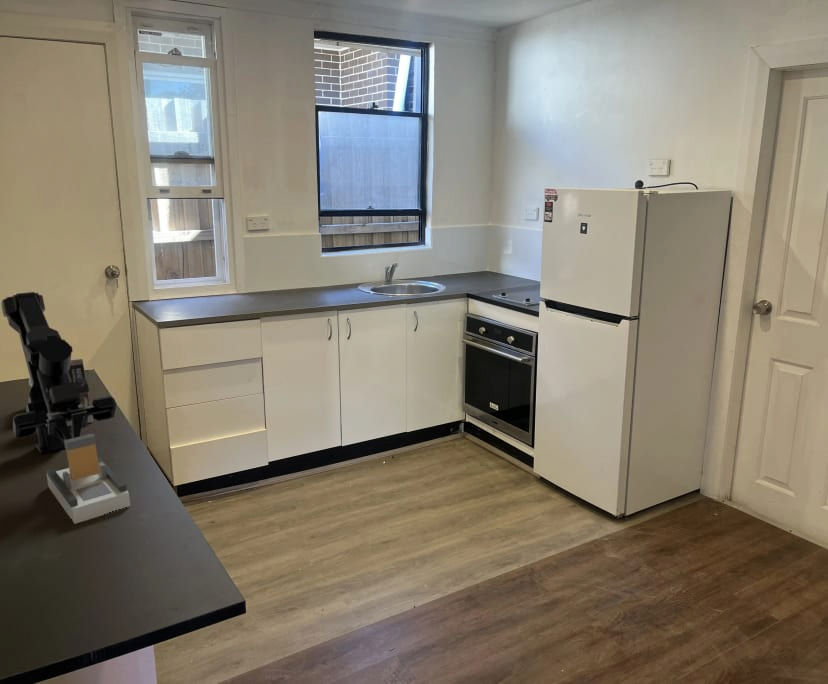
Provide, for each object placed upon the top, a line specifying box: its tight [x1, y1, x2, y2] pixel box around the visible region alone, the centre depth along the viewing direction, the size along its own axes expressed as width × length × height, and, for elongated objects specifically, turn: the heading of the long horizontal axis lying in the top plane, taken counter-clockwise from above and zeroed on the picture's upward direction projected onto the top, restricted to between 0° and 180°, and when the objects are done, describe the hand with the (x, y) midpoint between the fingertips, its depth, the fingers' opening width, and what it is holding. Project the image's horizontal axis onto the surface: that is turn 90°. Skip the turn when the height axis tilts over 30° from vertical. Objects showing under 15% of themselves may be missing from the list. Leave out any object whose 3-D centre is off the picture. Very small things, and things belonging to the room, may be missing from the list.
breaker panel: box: [46, 456, 131, 525], centre depth 131 cm, size 20×10×6 cm, turn 41°
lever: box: [64, 433, 100, 481], centre depth 130 cm, size 2×5×8 cm, turn 130°
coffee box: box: [66, 358, 94, 427], centre depth 171 cm, size 9×6×16 cm
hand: (76, 452), depth 133 cm, fingers closed
